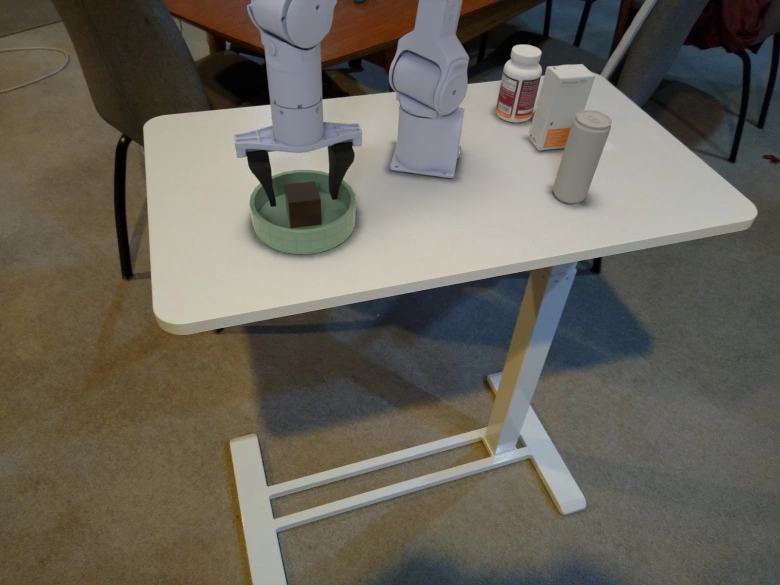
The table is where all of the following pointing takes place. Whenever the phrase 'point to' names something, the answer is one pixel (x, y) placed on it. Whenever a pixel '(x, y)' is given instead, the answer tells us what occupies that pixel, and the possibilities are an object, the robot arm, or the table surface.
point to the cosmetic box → (559, 104)
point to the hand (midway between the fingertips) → (303, 198)
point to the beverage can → (581, 155)
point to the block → (303, 204)
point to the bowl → (309, 239)
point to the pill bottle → (519, 84)
